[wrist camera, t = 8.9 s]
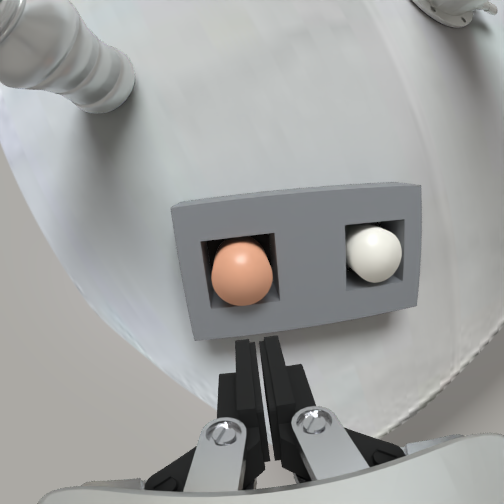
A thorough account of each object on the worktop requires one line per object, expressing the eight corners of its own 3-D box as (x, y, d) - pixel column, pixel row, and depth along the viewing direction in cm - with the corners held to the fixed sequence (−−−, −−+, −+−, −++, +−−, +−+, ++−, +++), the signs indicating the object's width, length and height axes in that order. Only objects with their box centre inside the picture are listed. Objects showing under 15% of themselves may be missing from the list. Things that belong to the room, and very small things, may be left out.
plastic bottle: (143, 53, 24) (49, -61, 5) (138, 114, 26) (8, 47, 7) (87, 62, 24) (-35, -14, 5) (81, 121, 26) (-68, 88, 6)
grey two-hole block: (395, 182, 29) (421, 185, 25) (394, 288, 33) (416, 305, 28) (180, 201, 29) (170, 207, 24) (199, 316, 32) (194, 340, 27)
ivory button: (378, 218, 30) (402, 227, 25) (378, 263, 31) (400, 278, 26) (335, 222, 30) (353, 232, 25) (336, 268, 31) (354, 286, 26)
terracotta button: (263, 232, 29) (269, 244, 24) (268, 281, 30) (274, 301, 25) (211, 238, 28) (207, 252, 24) (218, 286, 30) (216, 308, 25)
